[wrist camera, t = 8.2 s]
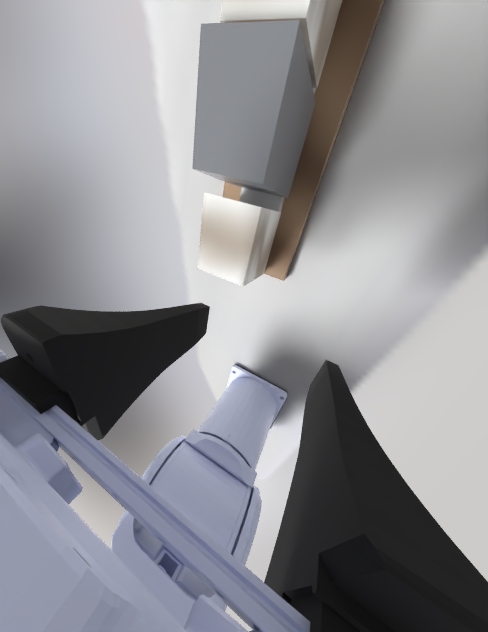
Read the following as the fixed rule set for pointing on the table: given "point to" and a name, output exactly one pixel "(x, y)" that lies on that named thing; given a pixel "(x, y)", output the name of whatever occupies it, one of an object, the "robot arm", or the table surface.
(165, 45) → the table surface
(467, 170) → the table surface
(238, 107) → the block
